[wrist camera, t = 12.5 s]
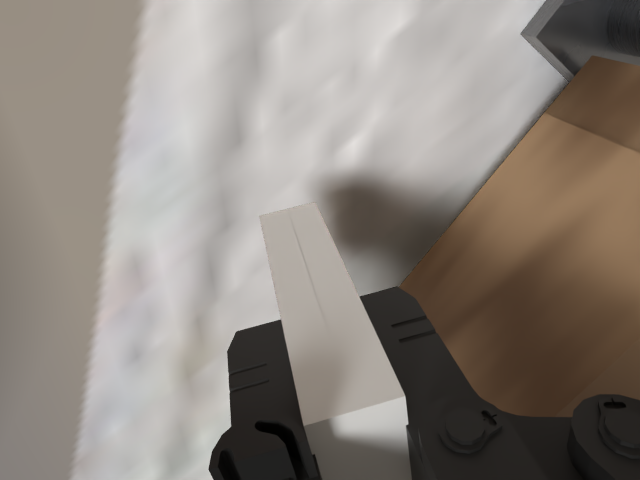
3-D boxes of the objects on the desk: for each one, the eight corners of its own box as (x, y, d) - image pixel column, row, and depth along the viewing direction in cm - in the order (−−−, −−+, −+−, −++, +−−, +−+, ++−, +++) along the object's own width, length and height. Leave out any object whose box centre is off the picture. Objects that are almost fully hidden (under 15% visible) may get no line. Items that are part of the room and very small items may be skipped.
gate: (367, 413, 20) (468, 693, 12) (288, 386, 18) (348, 693, 10) (747, -5, 14) (1401, 26, 6) (685, -104, 12) (1481, -226, 5)
